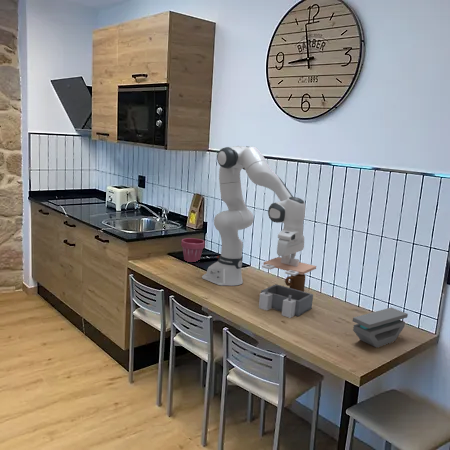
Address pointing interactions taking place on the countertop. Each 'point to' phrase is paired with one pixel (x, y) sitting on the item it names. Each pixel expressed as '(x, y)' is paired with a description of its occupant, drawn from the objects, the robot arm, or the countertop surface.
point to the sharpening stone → (379, 326)
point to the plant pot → (192, 249)
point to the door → (289, 266)
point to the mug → (296, 282)
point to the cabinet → (285, 300)
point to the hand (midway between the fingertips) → (289, 262)
